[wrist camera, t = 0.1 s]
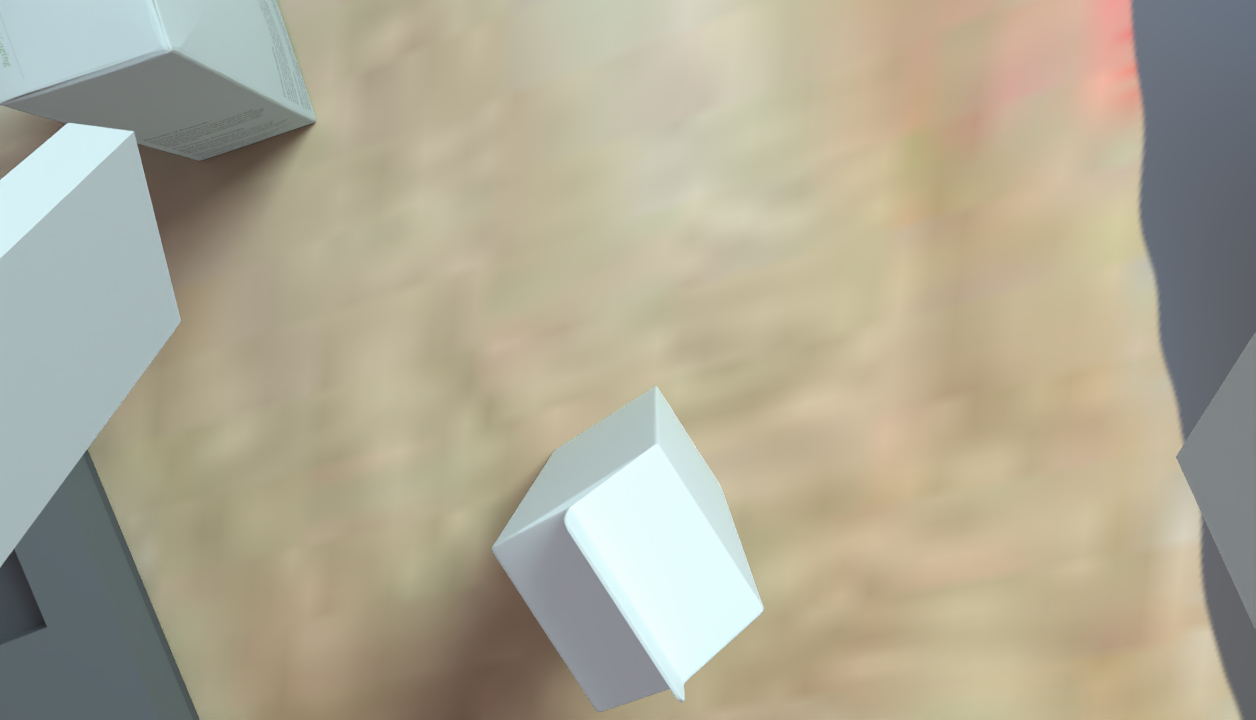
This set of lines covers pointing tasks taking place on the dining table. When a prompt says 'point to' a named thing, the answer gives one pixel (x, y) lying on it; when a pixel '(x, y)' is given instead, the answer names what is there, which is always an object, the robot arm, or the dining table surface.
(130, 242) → the robot arm
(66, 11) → the skincare box
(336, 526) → the dining table surface
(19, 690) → the panel
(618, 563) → the milk
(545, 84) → the dining table surface
